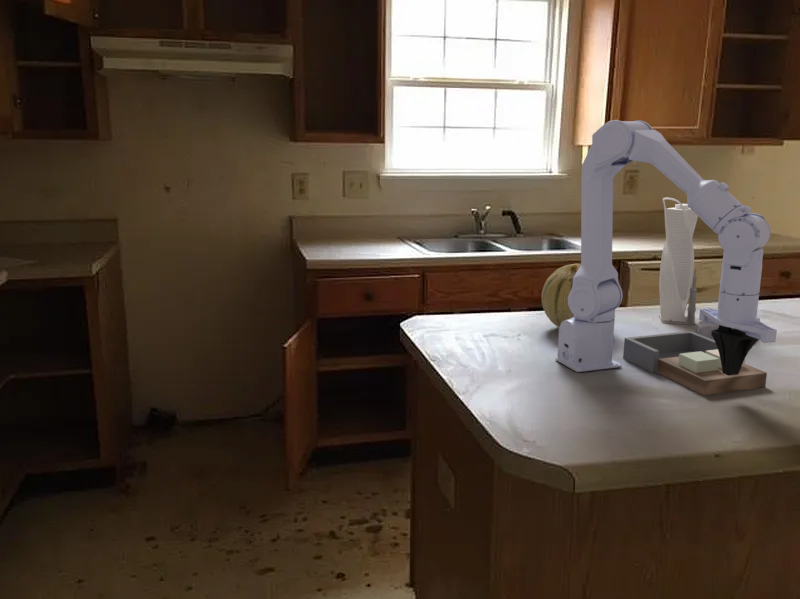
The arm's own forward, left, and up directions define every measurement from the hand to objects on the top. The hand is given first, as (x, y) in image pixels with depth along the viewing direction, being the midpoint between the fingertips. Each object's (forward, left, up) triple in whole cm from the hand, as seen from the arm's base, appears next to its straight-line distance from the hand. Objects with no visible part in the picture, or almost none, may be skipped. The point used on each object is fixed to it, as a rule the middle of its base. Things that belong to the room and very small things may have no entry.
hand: (730, 373), depth 117 cm
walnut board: (+3, +8, -4) cm, 9 cm away
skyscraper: (+23, +44, -4) cm, 49 cm away
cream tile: (+5, +8, -1) cm, 9 cm away
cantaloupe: (-3, +43, -4) cm, 43 cm away
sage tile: (0, +8, -1) cm, 8 cm away
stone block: (+25, +29, -4) cm, 38 cm away
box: (+3, +18, -4) cm, 18 cm away
